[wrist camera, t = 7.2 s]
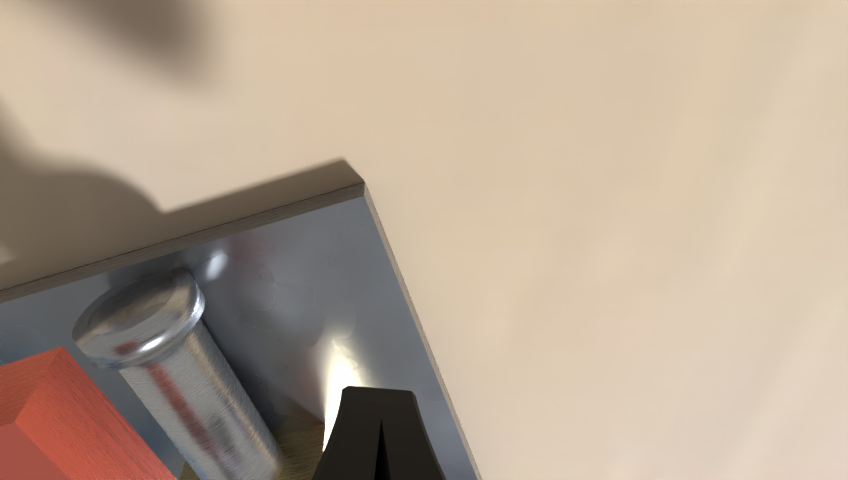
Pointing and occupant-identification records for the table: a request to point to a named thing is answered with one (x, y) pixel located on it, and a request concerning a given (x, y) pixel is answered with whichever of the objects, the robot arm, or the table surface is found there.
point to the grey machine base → (244, 338)
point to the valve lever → (66, 426)
